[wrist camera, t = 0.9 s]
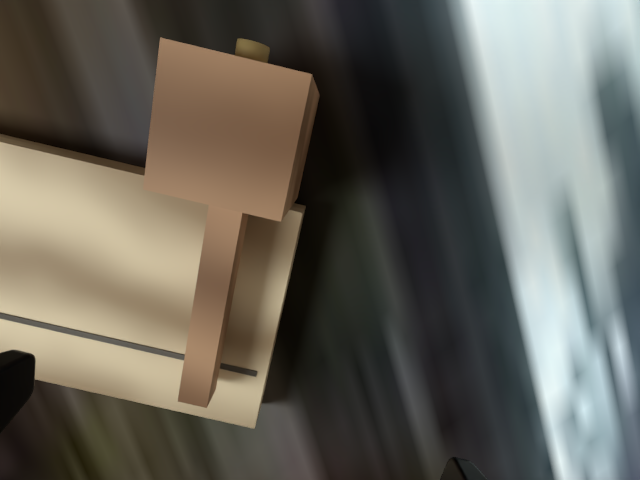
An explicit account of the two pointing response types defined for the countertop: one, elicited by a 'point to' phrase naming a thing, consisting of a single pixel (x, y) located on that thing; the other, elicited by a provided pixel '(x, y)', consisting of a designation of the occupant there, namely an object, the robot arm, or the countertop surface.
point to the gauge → (225, 169)
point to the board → (128, 281)
